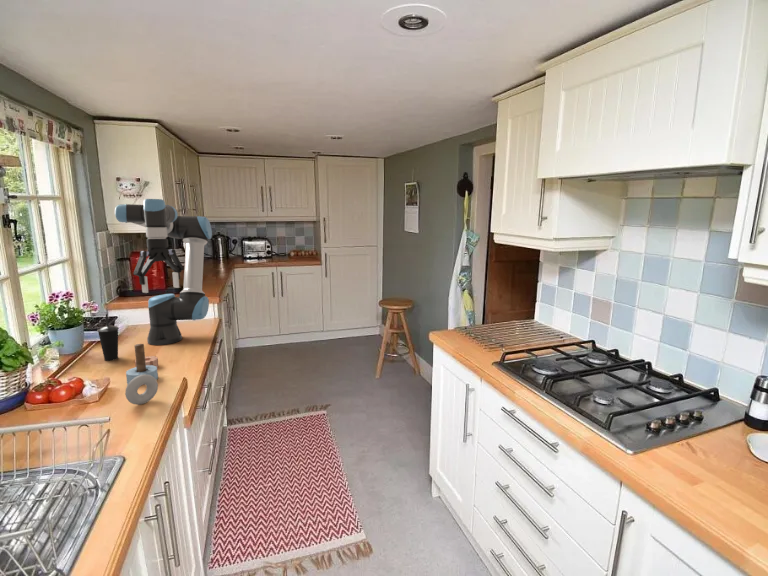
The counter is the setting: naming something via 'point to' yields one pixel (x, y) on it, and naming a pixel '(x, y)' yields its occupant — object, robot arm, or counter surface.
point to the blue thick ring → (133, 372)
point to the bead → (150, 361)
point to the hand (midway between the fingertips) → (161, 290)
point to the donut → (136, 383)
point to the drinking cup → (109, 341)
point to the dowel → (140, 357)
